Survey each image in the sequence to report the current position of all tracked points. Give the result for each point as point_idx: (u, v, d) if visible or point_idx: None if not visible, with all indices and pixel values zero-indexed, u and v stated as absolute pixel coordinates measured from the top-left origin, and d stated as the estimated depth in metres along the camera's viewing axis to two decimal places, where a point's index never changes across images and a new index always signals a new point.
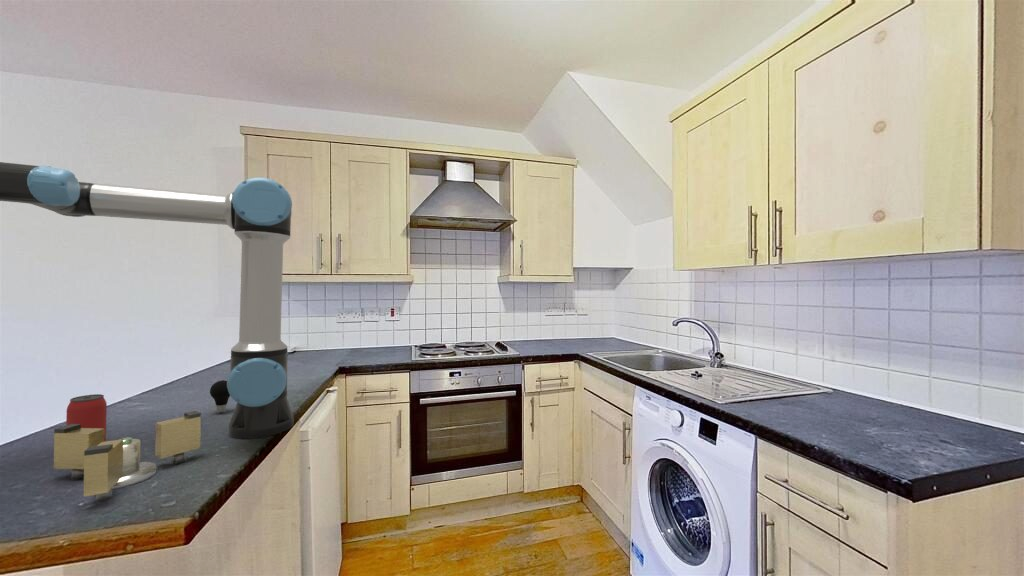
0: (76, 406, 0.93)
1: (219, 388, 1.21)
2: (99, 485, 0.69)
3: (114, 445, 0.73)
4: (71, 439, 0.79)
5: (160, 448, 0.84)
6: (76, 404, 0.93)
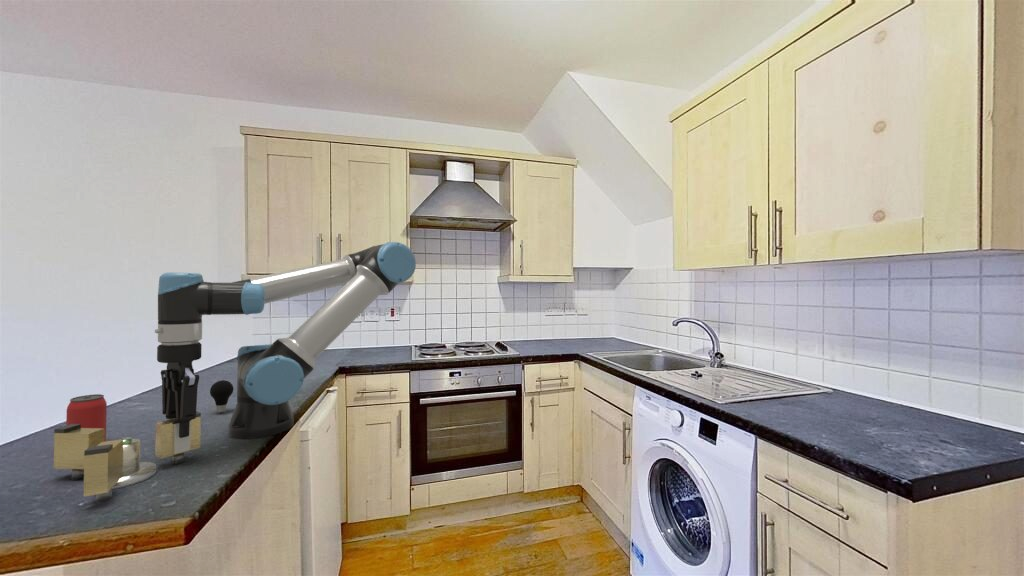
0: (76, 406, 0.93)
1: (219, 388, 1.21)
2: (99, 485, 0.69)
3: (114, 445, 0.73)
4: (71, 439, 0.79)
5: (160, 448, 0.84)
6: (76, 404, 0.93)
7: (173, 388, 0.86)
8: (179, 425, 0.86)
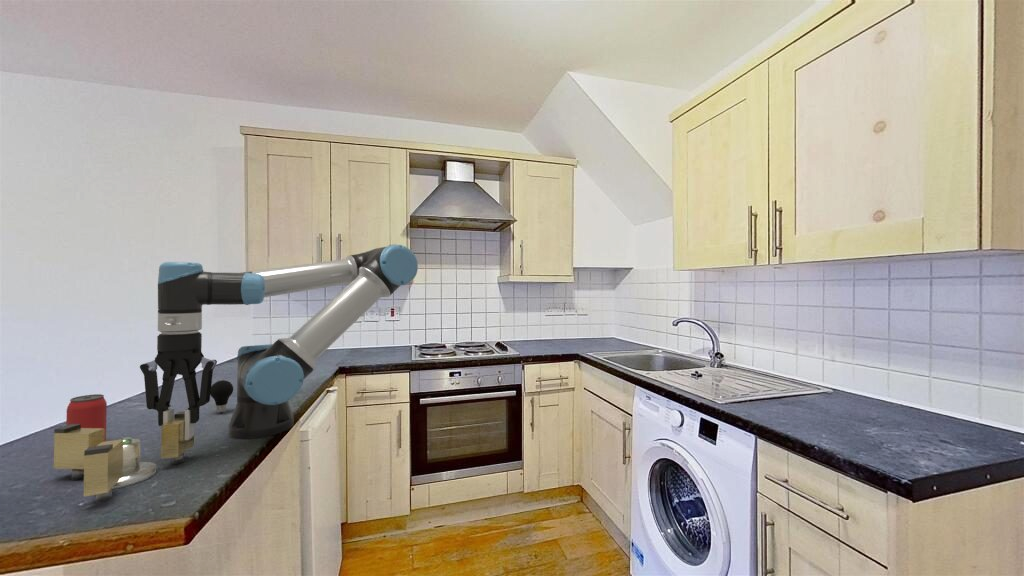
0: (77, 406, 0.93)
1: (219, 388, 1.21)
2: (99, 485, 0.69)
3: (114, 445, 0.73)
4: (71, 439, 0.79)
5: (177, 447, 0.85)
6: (76, 404, 0.93)
7: (186, 376, 0.87)
8: (192, 411, 0.88)
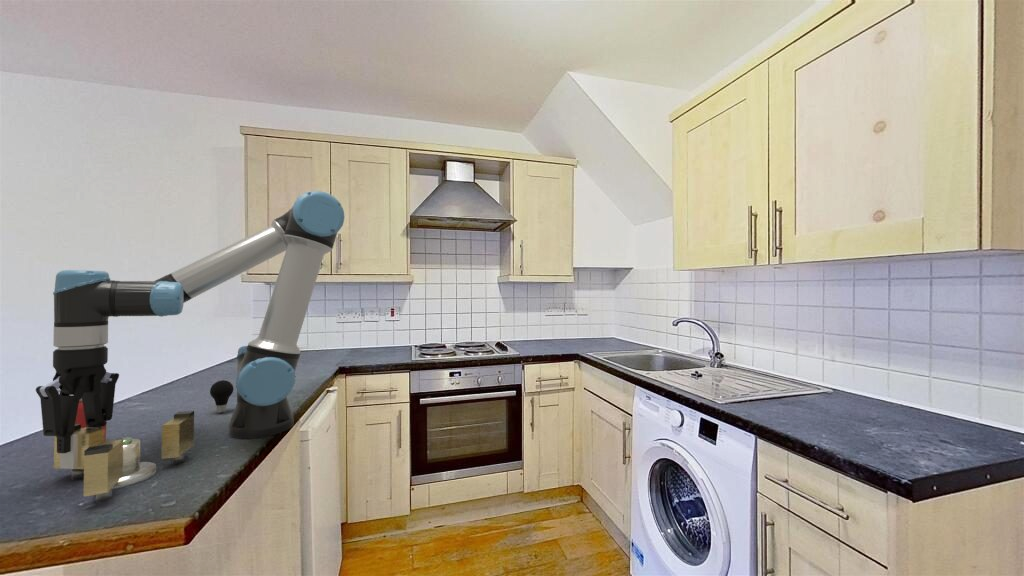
0: None
1: (219, 388, 1.21)
2: (99, 485, 0.69)
3: (114, 445, 0.73)
4: None
5: (178, 446, 0.85)
6: None
7: None
8: None
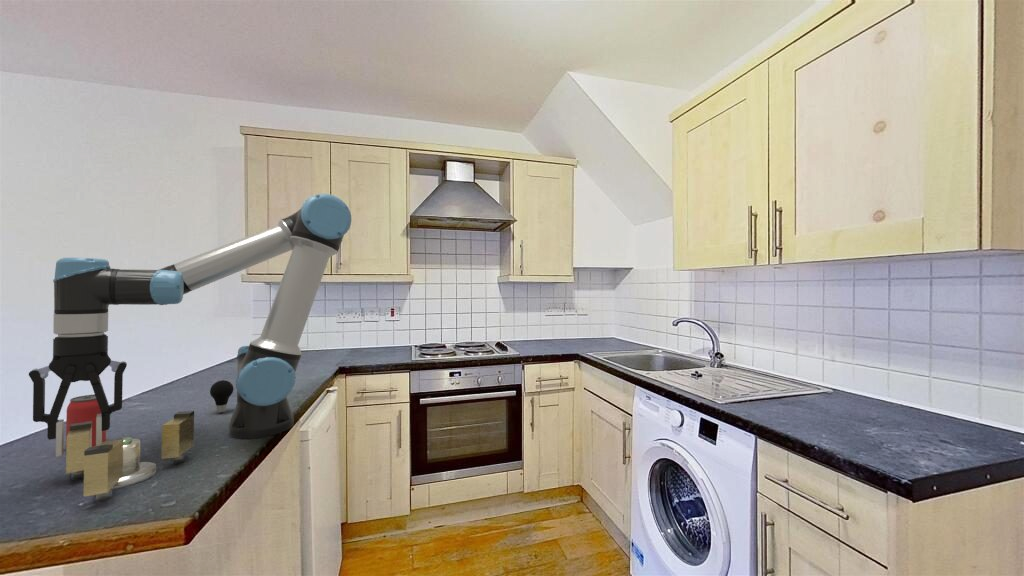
0: (76, 406, 0.93)
1: (219, 388, 1.21)
2: (99, 485, 0.69)
3: (114, 445, 0.73)
4: None
5: (178, 446, 0.85)
6: (76, 404, 0.93)
7: None
8: None
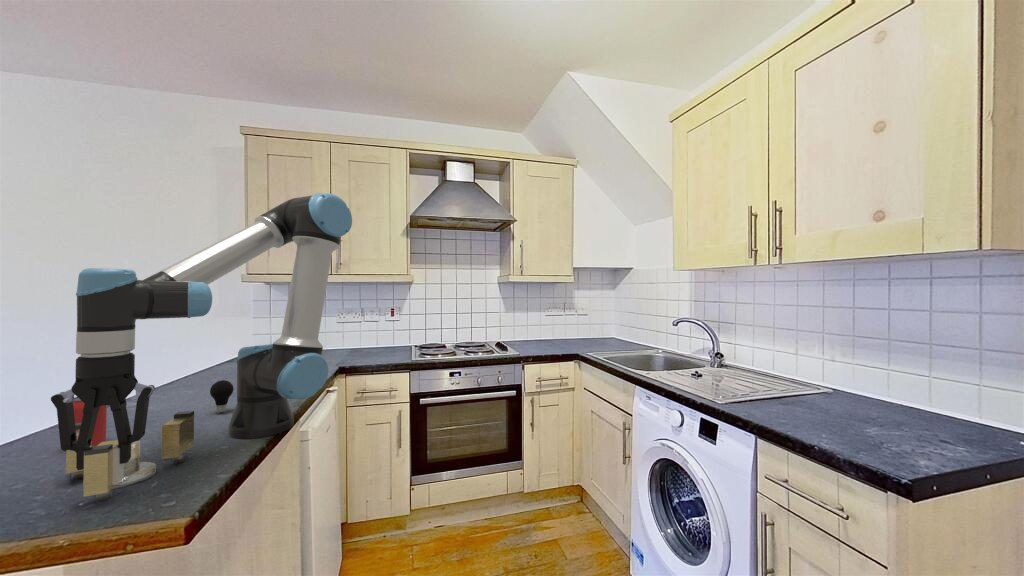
0: (77, 406, 0.93)
1: (219, 388, 1.21)
2: (99, 485, 0.69)
3: (114, 445, 0.73)
4: None
5: (178, 446, 0.85)
6: (76, 404, 0.93)
7: None
8: None
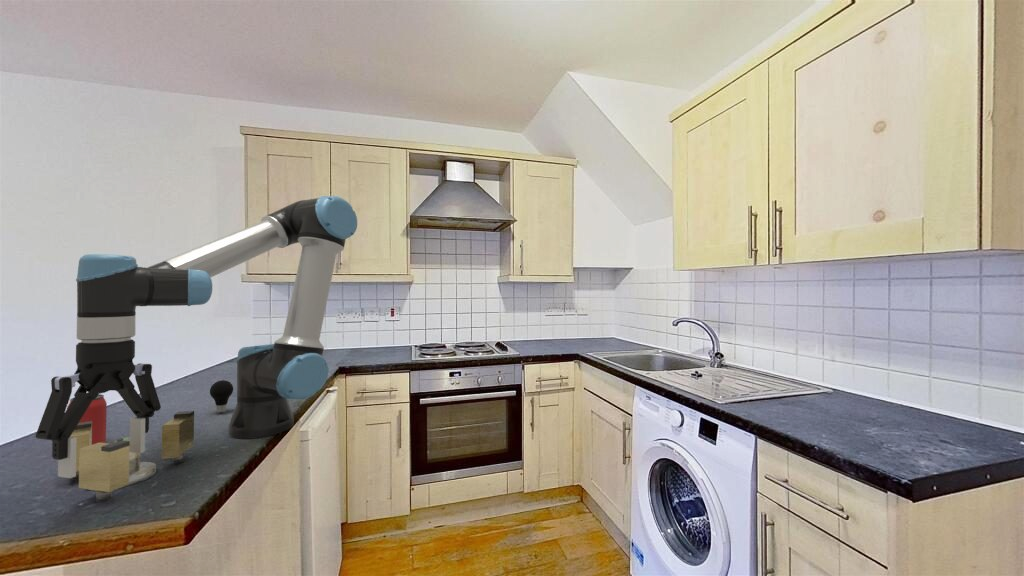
0: None
1: (219, 388, 1.21)
2: (122, 477, 0.72)
3: None
4: None
5: (178, 446, 0.85)
6: None
7: None
8: None
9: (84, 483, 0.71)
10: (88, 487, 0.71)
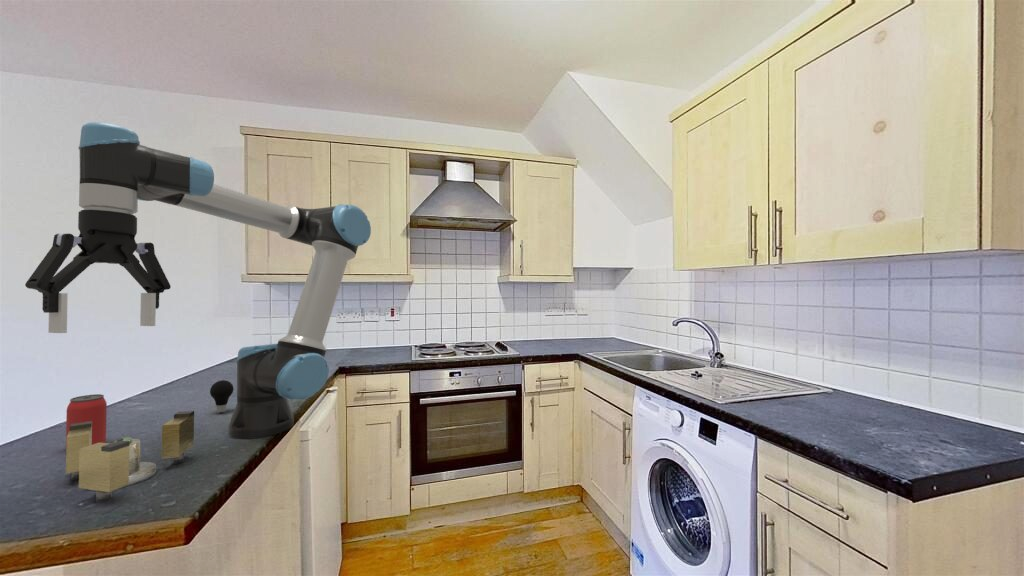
0: (76, 406, 0.93)
1: (219, 388, 1.21)
2: (122, 477, 0.72)
3: None
4: None
5: (178, 446, 0.85)
6: (76, 404, 0.93)
7: None
8: None
9: (84, 483, 0.71)
10: (88, 487, 0.71)
